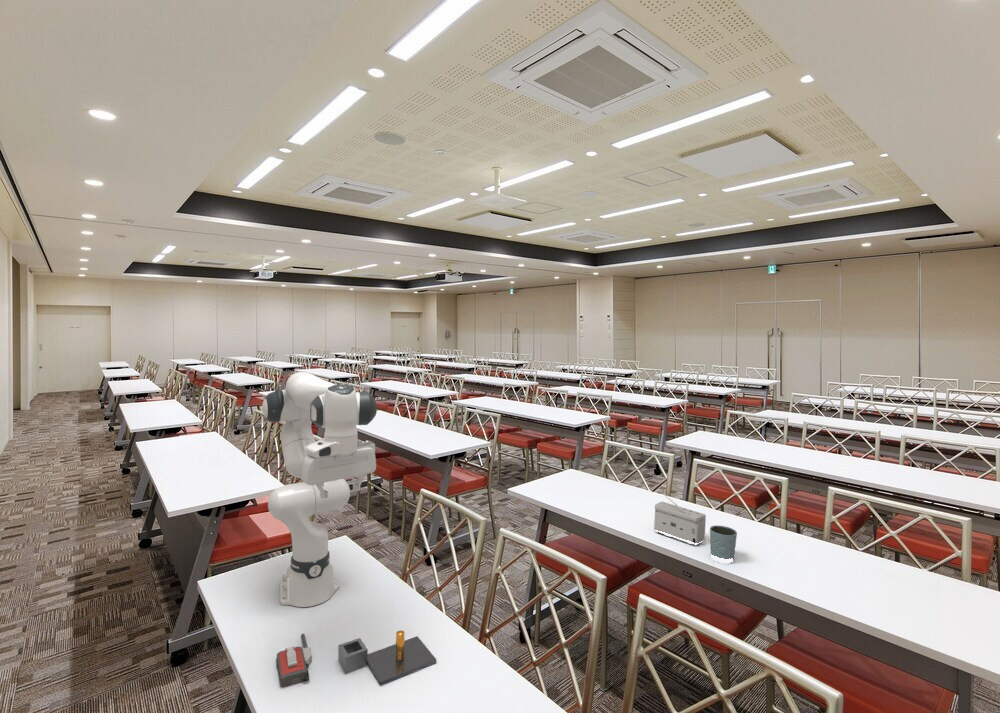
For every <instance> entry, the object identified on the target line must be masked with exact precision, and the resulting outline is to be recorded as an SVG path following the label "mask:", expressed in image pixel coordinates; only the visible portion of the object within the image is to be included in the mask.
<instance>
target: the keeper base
mask: <svg viewBox="0 0 1000 713" xmlns="http://www.w3.org/2000/svg"><path fill="white" fill-rule="evenodd" d="M395 640H396V641H395V644H392V645H389V646H386V647H384V648H381V649H378V650H376V651H373V652H370V653H368V666H367V668H369V670H370V672H371V673H372V675H373V677H374V679H375V680H376V682H377V683H378V685H379V686H380V687H382V686H383V685H386V684H389V683H390V682H393V681H396V680H398V679H401V678H404V677H406V676H408V675H410V674H412V673H415V672H418V671H420V670H422V669H425V668H427V667H430V666H432V665H435V664H437V658H436V657H435V655H433V652H431V651H430V650H429V648H428V647H427V646H426V645H425V643H424V642H423V641H422V640H421V639H420V637H419V636H418V635H416V636H414V637H411V638H408V639H405V631H404V630H397V631H396V634H395Z"/></svg>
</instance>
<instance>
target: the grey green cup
mask: <svg viewBox="0 0 1000 713" xmlns="http://www.w3.org/2000/svg"><path fill="white" fill-rule="evenodd" d="M737 536H738V532H737V531H736V529H734V528H732V527H730V526H729V527H728V526H726V525H725V526H724V525H712V526H710V527H709V543H710V548H709V549H710V555H711V554H712V555H714V556H717V557H719V558H724V559H729V558H730V559H731V558H734V559H735V552H736V550H735V549H736V547H737V546H736V544H737V538H738V537H737Z"/></svg>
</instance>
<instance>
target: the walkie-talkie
mask: <svg viewBox="0 0 1000 713" xmlns="http://www.w3.org/2000/svg"><path fill="white" fill-rule="evenodd" d="M300 638H301V642H302V643H301V644H302V646H296V647H295V646H291V647H287V648H285V649H283V650H280V651H279V652H277V653H276V657H275V662H276V663H275V664H276V669H277V673H278V680H279V686H280V688H282V689H283V688H287V687H291V686H295V685H298V684H301V683H306V682H308V681H310V673H309V666H310V665H311V663H312V662H313V654H312V648H311V646H308V643H307V639H306V635H305V633H301V635H300Z"/></svg>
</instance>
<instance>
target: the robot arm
mask: <svg viewBox="0 0 1000 713" xmlns="http://www.w3.org/2000/svg"><path fill="white" fill-rule="evenodd" d="M261 410H262V414H263V416H264V418H265V420H266V421H268V423H269V422H271V423H277V424H278V423H280V422H283V425H281V429H280V430H281V431H280V443H281V450H282V455H283V461H284V465H285V470H286V471H287V473H288V474H289V475H291V476H292V477H294V478H297V479H301V481H302V482H300V481H299V482H296V483H295V482H293V483H288V484H285V485H283V486H279V487H277V488H274V489H273V490H272V491H271V493H270V494H269V497H268V500H267V509H268V511H269V514H270V515H271V516H272V517H273V518H275V519H276V520H277V521H279V522H282V523H283V524H284V525H285V526H286V527H287V529H288V530H289V533H290V535H291V536H290V537H291V545H292V548H291V549H292V555H291V557H290V558H291V559H290V565H289V566H288V567H287V568H286V574H281V579H280V581H279V604H280V605H282V606H293V607H297V608H298V607H299V608H308V607H313V606H317V605H320V604H323V603H325V602H327V601H328V600H330V598H331V597H332V596H333V594H334V593H335V592H336V591H338V590H339V589H340V587H339V586H340V585H339V583H337V582H336V581H335V568H334V566H333V565H332V564H331V563H330V560H331V558H330V557H331V555H330V551H329V531H328V529H327V528H326V526H325V525H323V524H322V523H319V522H316V521H311V516H314V515H317V514H323V513H327V512H332V511H335V510H338V509H341V508H342V507H345V506H346V505H347V504H348V502H349V499H350V497H351V488H350V485H349V484H348V482H347V481H346V479H348V478H353V477H356V478H357V479H356V480H355V483H353V484H352V491H353V492H358V491H361V485H362V483H363V481H364V479H365V475H368V474H369V475H370V474H372V473H375V471H376V470H377V458H376V444H375V443H374V442H373V441H371V440H364V441H358V436H359V435H358V433H359V432H358V430H357V426H368V425H369V424H370V423H371V422H372V421H373V420H374V419H375V417H376V415H377V411H378V406H377V401H376V399H375V398H374V396H373V395H372V394H371V393H369V391H365V390H363V391H359V392H357V391H356V390H355V388H354V387H353V386H351V385H346V384H336V383H333V382H330V381H327V380H324V379H322V378H321V377H318V376H317V375H315V374H313V373H311V372H307V371H299V372H295V373H293V374H292V375H290V376H289V377H288V378H287V380H286V382H285V389H279V388H275V389H274V391H272V392H270V393H268V394H267V395H265V397H264V399H263V402H262V404H261ZM312 423H313V424H314V425H315V426H316V427H318V428H322V429H325V430H324V432H323V437H322V438H321V439H319V440H317V441H316V439H315V435H314V433H313V430H312Z"/></svg>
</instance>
